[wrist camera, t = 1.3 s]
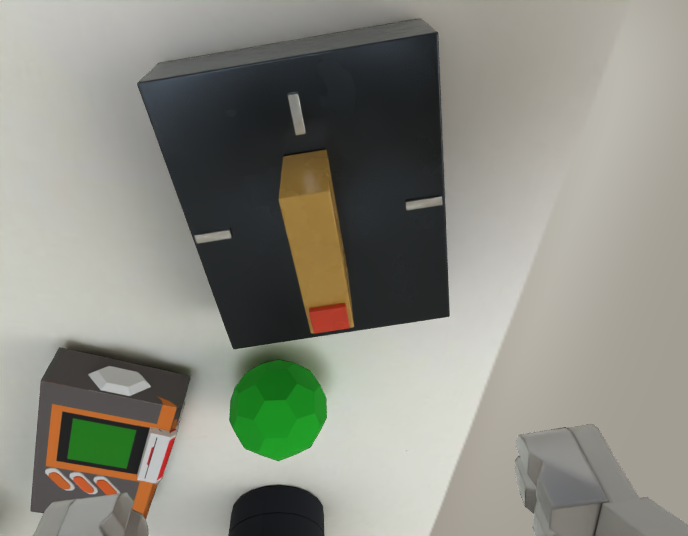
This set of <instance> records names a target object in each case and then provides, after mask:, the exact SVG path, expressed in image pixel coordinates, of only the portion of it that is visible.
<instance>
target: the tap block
mask: <svg viewBox="0 0 688 536" xmlns="http://www.w3.org/2000/svg"><path fill="white" fill-rule="evenodd" d="M137 85H138V88H139V91H140V93H141V96H142V99H143V102H144V104H145V107H146V110H147V113H148V115H149V118H150V121H151V124H152V127H153V129H154V132H155V135H156V138H157V140H158V143H159V146H160V149H161V151H162V154H163V157H164V160H165V162H166V165H167V168H168V171H169V173H170V176H171V179H172V182H173V184H174V187H175V190H176V193H177V196H178V198H179V201H180V204H181V207H182V209H183V212H184V215H185V218H186V220H187V223H188V226H189V229H190V231H191V234H192V237H193V240H194V242H195V245H196V248H197V251H198V254H199V256H200V259H201V262H202V265H203V267H204V270H205V273H206V276H207V278H208V281H209V284H210V287H211V289H212V292H213V295H214V298H215V300H216V303H217V306H218V309H219V312H220V314H221V317H222V320H223V323H224V325H225V328H226V331H227V334H228V336H229V339H230V342H231V345H232V347H233V349H238V348H245V347H251V346H258V345H265V344H271V343H278V342H285V341H291V340H298V339H304V338H311V337H318V336H324V335H331V334H338V333H344V332H351V331H357V330H364V329H371V328H377V327H384V326H391V325H397V324H404V323H410V322H417V321H424V320H430V319H437V318H443V317H449V316H450V312H449V287H448V263H447V238H446V213H445V189H444V164H443V140H442V115H441V90H440V66H439V41H438V32H437V31H435V30H434V29H433V28H432V27H431V26H429V25H428V24H427V23H426V22H424V21H423V20H422V19H414V20H408V21H402V22H397V23H391V24H385V25H379V26H373V27H367V28H361V29H355V30H350V31H344V32H338V33H332V34H326V35H320V36H314V37H308V38H303V39H297V40H291V41H285V42H279V43H273V44H267V45H261V46H255V47H250V48H244V49H238V50H232V51H226V52H220V53H214V54H208V55H203V56H197V57H191V58H185V59H179V60H173V61H167V62H161V63H158V64H157V65H156V66H155V67H154V68H153V69H152V70H151V71H150V72H149V73H148V74H147V75H145V76H144V77H143V78H142V79H141V80H140V81H139V82H138V83H137ZM320 150H327V155H328V161H329V166H330V172H331V178H332V184H333V190H334V195H335V201H336V207H337V213H338V218H339V224H340V230H341V236H342V241H343V247H344V253H345V259H346V265H347V270H348V278H349V286H350V295H351V303H352V312H353V321H354V327H352V328H348V329H342V330H335V331H328V332H322V333H315V334H314V333H313V334H312V333H311V332H310V328H309V324H308V320H307V316H306V311H305V307H304V303H303V299H302V295H301V291H300V287H299V283H298V278H297V274H296V270H295V266H294V262H293V258H292V254H291V249H290V245H289V241H288V237H287V233H286V229H285V225H284V221H283V216H282V212H281V208H280V204H279V190H280V181H281V172H282V162H283V157H284V156H290V155H296V154H302V153H308V152H314V151H320Z"/></svg>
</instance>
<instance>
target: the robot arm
mask: <svg viewBox="0 0 688 536" xmlns="http://www.w3.org/2000/svg"><path fill="white" fill-rule="evenodd" d="M516 447H517V450H518V452H519V456H518V457H517V458H516V460H515V473H516V480H517V485H518V488H519V492H520V495H521V498H522V500H523V503H524V506H525V507H526V508H528V509H529V510H530V511H531V512H532V513H533V514H534V520H533V529H534V532H535V535H536V536H688V525H687V524H686V523H684V522H683V521H681V520H680V519H678V518H677V517H676V516H674V515H673V514H671V513H670V512H668V511H667V510H665V509H664V508H662V507H661V506H660V505H658V504H657V503H655V502H654V501H652V500H651V499H649V498H648V497H643V498H639V496H638V495H637V493H636V491H635V489H634V488H633V486H632V484H631V483H630V481H629V479H628V478H627V476H626V474H625V473H624V471H623V469H622V468H621V466H620V464H619V462H618V461H617V459H616V457H615V456H614V454H613V452H612V451H611V449H610V447H609V446H608V444H607V442H606V441H605V439H604V437H603V436H602V434H601V433H600V430H599V429H598V428H597V427H596V426H595V425H593V424H587V425H582V426H575V427H570V428H566V427H564V428H558V429H551V430H545V431H539V432H533V433H527V434H521V435H518V437H517V440H516ZM133 503H134V501H133V499H132V498H131V497H130V495H129V494H128V493H119V494H111V495H104V496H96V497H88V498H81V499H71V500H65V501H58V502H52V503H51V504H50V506H49V507H48V508H47V509H46V510H45V511H44V514H43V516H42V518H41V520H40V522H39V525H38V527H37V529H36V531H35V533H34V535H33V536H148V526H147V523H146V520H145V518H144V516H143V515H142V513H140V512H137V511H135V510H133V509H132V506H133Z"/></svg>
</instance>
